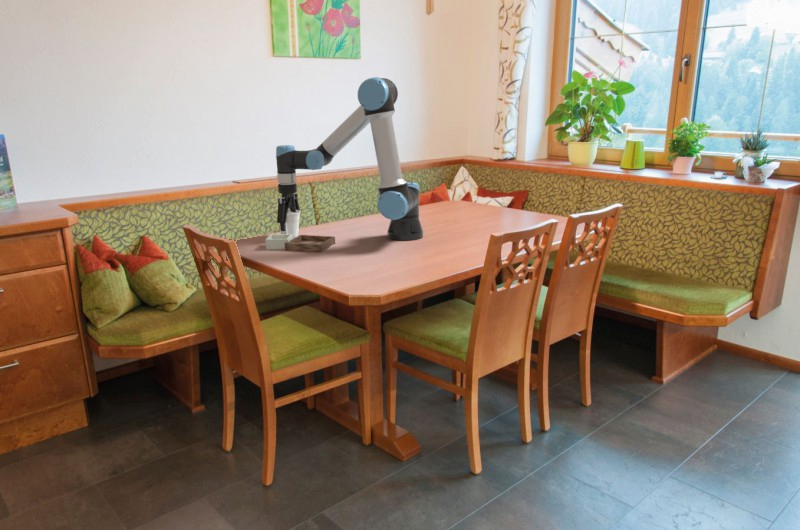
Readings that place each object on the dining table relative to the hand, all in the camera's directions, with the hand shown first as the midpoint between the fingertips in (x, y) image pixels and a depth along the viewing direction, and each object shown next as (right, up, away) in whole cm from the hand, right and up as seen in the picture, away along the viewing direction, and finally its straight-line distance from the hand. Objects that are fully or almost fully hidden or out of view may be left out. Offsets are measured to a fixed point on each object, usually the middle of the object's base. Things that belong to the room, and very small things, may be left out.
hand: (290, 235), depth 256 cm
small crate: (-1, -5, -15) cm, 16 cm away
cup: (0, -1, 0) cm, 1 cm away
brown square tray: (+11, -5, -16) cm, 20 cm away
